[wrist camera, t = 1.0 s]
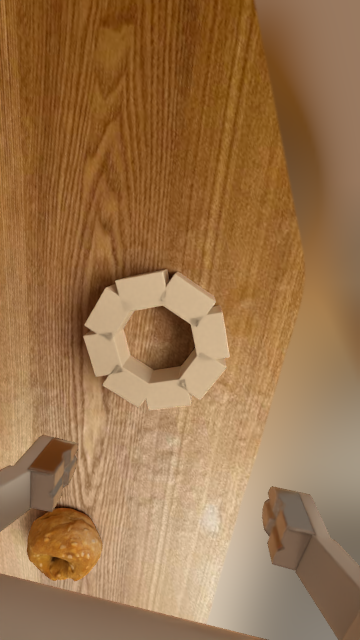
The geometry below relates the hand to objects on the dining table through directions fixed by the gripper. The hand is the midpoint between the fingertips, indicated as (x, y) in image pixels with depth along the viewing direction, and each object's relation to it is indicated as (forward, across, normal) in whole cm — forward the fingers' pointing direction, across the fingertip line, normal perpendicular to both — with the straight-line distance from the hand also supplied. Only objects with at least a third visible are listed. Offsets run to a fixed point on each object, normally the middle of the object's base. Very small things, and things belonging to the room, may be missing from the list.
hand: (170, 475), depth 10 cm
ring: (+16, +3, 0) cm, 17 cm away
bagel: (+16, +11, +32) cm, 37 cm away
